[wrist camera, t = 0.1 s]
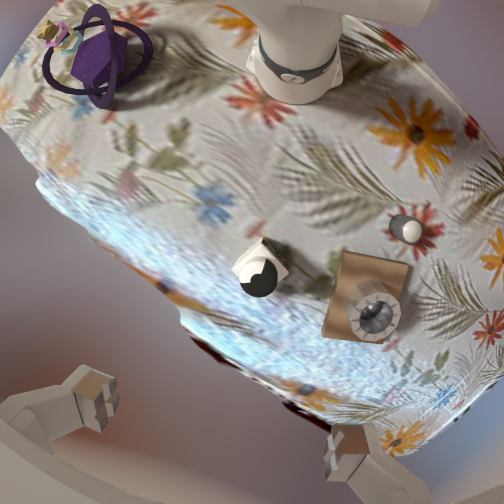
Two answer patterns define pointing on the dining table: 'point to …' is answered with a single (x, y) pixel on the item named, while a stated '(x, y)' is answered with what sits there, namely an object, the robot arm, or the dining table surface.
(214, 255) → the dining table surface
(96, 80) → the decorative bottle
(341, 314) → the mounting block
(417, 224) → the gray white-topped cylinder
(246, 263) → the medicine bottle
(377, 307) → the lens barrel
